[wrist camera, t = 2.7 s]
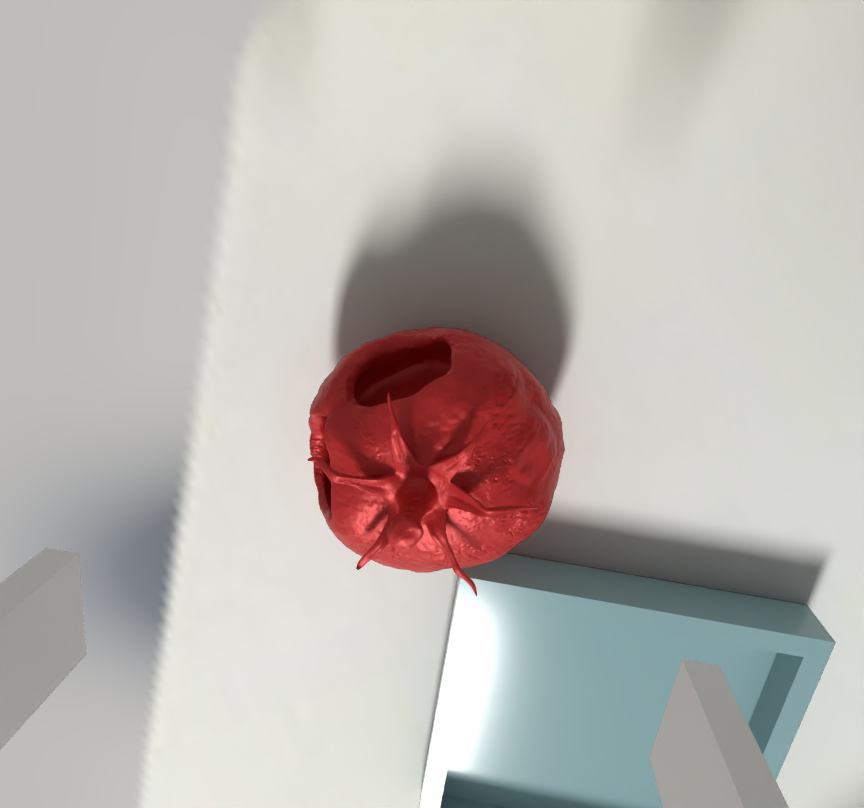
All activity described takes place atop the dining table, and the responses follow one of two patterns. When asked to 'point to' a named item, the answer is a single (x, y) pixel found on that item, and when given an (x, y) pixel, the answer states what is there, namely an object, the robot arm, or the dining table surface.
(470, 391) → the pomegranate
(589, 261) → the dining table surface
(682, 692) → the robot arm
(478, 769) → the dish
